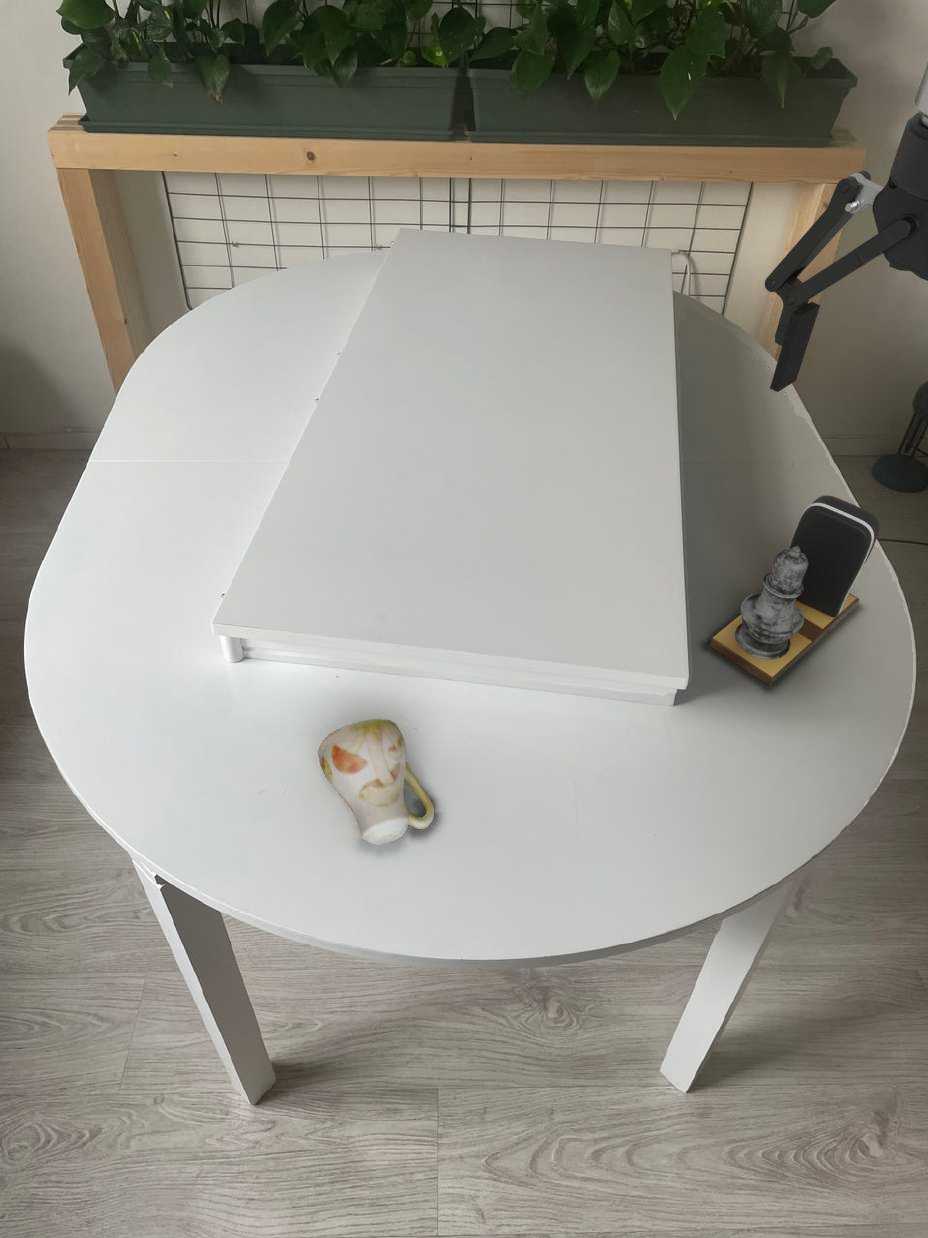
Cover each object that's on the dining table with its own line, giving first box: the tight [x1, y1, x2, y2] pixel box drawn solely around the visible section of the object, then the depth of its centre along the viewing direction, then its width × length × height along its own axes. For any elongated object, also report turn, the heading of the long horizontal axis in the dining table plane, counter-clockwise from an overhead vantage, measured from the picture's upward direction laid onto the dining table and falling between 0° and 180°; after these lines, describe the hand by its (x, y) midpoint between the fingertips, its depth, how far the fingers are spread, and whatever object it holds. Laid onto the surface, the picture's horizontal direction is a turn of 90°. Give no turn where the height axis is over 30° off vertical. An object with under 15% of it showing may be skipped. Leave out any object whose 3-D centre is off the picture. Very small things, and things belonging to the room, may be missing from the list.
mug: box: [317, 718, 435, 846], centre depth 75 cm, size 8×10×10 cm
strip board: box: [709, 592, 860, 686], centre depth 93 cm, size 7×16×1 cm, turn 133°
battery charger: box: [789, 494, 881, 617], centre depth 90 cm, size 7×4×11 cm, turn 51°
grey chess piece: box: [735, 546, 808, 660], centre depth 86 cm, size 6×6×12 cm
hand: (858, 420), depth 71 cm, fingers open, 13 cm apart
